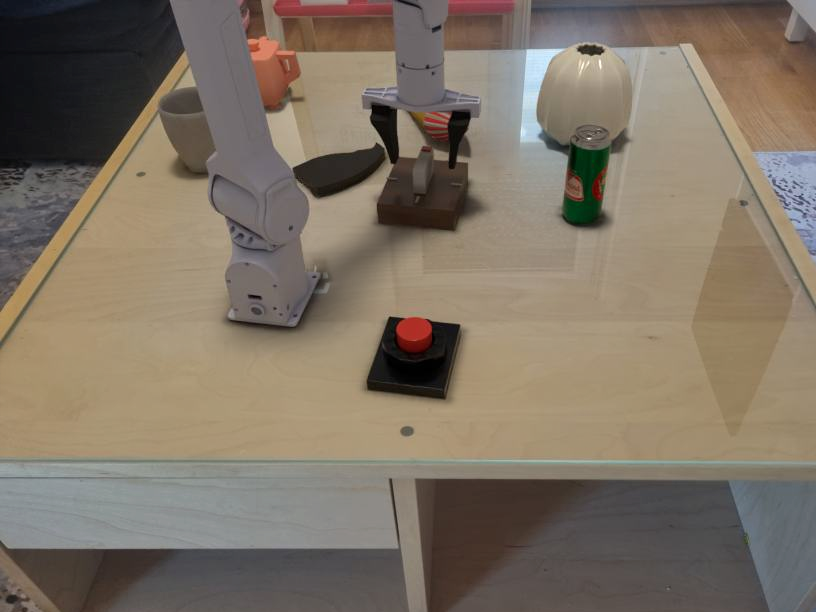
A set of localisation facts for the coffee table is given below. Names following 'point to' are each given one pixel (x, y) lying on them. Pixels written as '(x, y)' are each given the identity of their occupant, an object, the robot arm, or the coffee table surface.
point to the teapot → (273, 69)
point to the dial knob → (423, 170)
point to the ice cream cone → (435, 124)
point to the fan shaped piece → (339, 169)
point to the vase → (584, 92)
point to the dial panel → (423, 196)
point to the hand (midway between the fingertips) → (423, 162)
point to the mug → (187, 127)
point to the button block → (415, 362)
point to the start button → (414, 334)
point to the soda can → (586, 174)
